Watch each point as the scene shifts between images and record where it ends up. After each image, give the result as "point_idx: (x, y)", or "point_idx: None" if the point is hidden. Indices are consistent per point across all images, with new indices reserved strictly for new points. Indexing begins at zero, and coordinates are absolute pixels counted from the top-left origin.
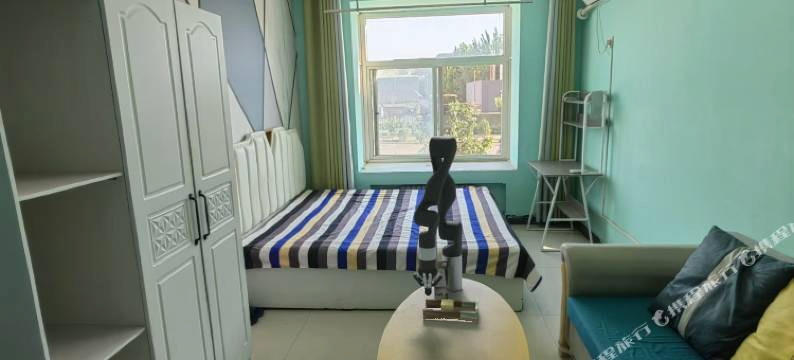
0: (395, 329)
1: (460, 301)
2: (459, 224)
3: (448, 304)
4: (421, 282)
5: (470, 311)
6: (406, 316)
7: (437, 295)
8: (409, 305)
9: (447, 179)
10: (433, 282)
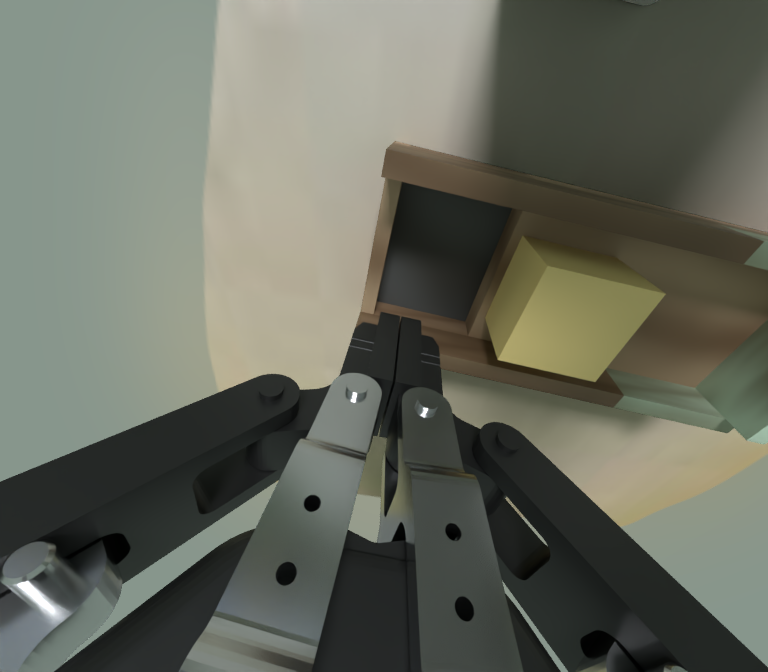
0: (227, 369)
1: (734, 258)
2: None
3: (566, 362)
4: (253, 489)
5: (720, 319)
6: (255, 256)
7: None
8: (243, 63)
9: None
10: (483, 474)
